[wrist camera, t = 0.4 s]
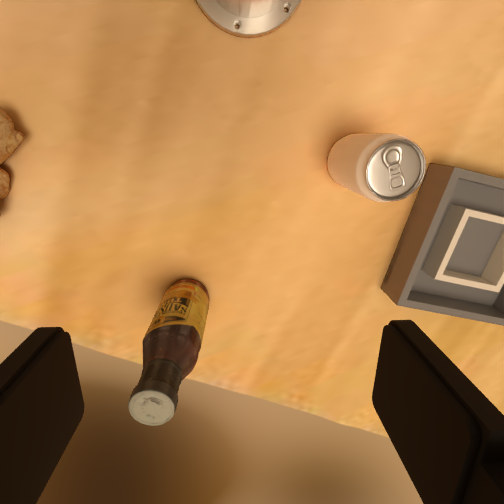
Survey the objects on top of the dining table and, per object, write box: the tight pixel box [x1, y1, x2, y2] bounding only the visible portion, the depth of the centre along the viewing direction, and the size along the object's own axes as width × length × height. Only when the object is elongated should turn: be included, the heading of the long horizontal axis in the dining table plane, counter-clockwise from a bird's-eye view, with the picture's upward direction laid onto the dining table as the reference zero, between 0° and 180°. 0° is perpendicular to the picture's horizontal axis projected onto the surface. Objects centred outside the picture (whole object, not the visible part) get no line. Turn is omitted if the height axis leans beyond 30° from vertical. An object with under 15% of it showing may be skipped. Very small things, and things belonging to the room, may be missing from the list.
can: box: [327, 133, 426, 202], centre depth 36 cm, size 6×6×12 cm
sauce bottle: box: [128, 279, 209, 425], centre depth 37 cm, size 7×6×20 cm
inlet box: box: [381, 163, 504, 326], centre depth 44 cm, size 18×18×5 cm
